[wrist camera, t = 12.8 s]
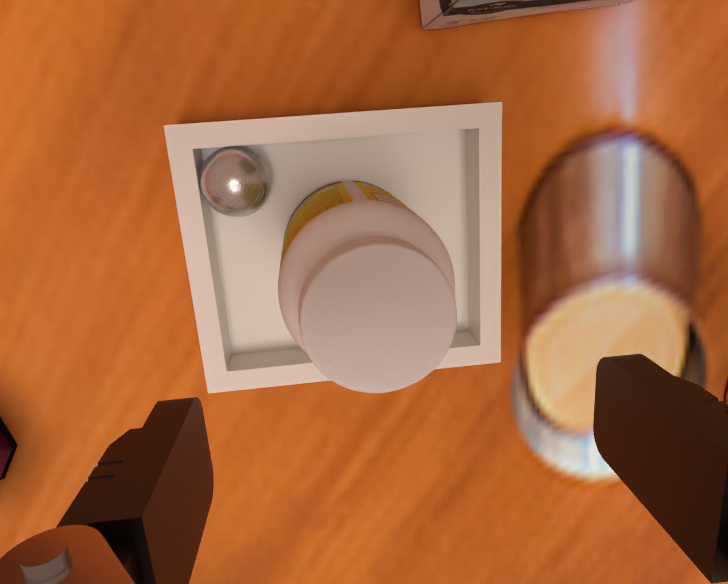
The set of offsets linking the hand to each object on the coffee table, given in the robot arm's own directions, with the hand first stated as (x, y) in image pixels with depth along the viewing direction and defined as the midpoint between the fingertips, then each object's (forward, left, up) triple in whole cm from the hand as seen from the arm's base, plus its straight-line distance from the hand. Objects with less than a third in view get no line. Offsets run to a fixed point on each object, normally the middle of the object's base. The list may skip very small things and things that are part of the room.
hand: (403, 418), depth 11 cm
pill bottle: (0, 0, -17) cm, 17 cm away
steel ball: (+5, -4, -16) cm, 17 cm away
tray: (0, 0, -17) cm, 17 cm away
